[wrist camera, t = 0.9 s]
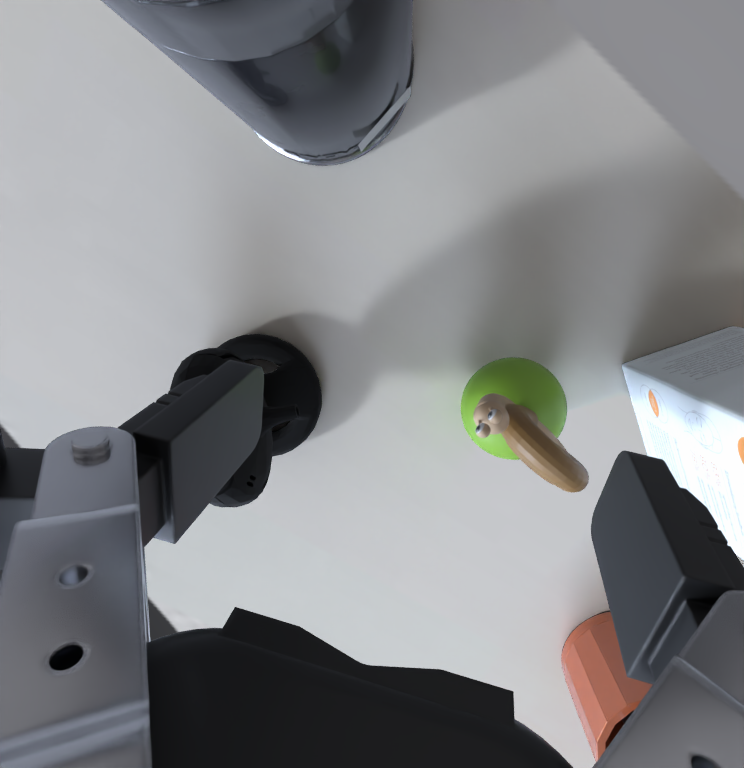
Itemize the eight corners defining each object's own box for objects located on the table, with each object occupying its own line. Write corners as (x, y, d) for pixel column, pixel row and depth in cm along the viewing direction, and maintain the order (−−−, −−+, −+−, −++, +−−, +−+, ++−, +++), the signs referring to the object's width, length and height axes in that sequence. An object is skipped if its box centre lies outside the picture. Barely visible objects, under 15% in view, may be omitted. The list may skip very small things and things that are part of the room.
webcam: (185, 345, 30) (79, 385, 20) (304, 317, 29) (251, 345, 19) (224, 464, 32) (142, 553, 22) (337, 441, 31) (303, 523, 21)
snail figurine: (484, 319, 28) (536, 360, 17) (570, 387, 29) (678, 471, 17) (424, 392, 30) (434, 477, 18) (508, 455, 30) (570, 577, 19)
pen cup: (559, 612, 32) (596, 696, 26) (679, 607, 32) (746, 692, 25) (562, 705, 34) (596, 805, 28) (675, 702, 33) (737, 804, 27)
